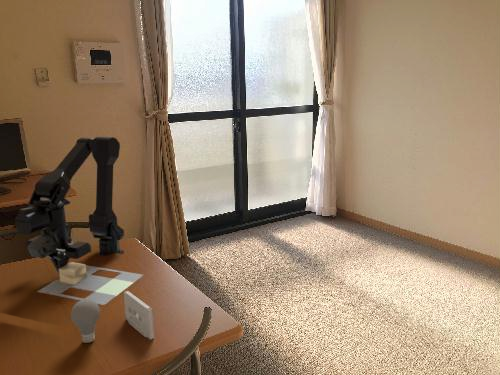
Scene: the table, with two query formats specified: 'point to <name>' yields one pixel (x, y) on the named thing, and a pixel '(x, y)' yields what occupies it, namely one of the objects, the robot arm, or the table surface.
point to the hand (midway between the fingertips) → (61, 274)
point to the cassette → (139, 315)
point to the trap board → (95, 285)
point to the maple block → (72, 273)
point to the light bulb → (85, 318)
